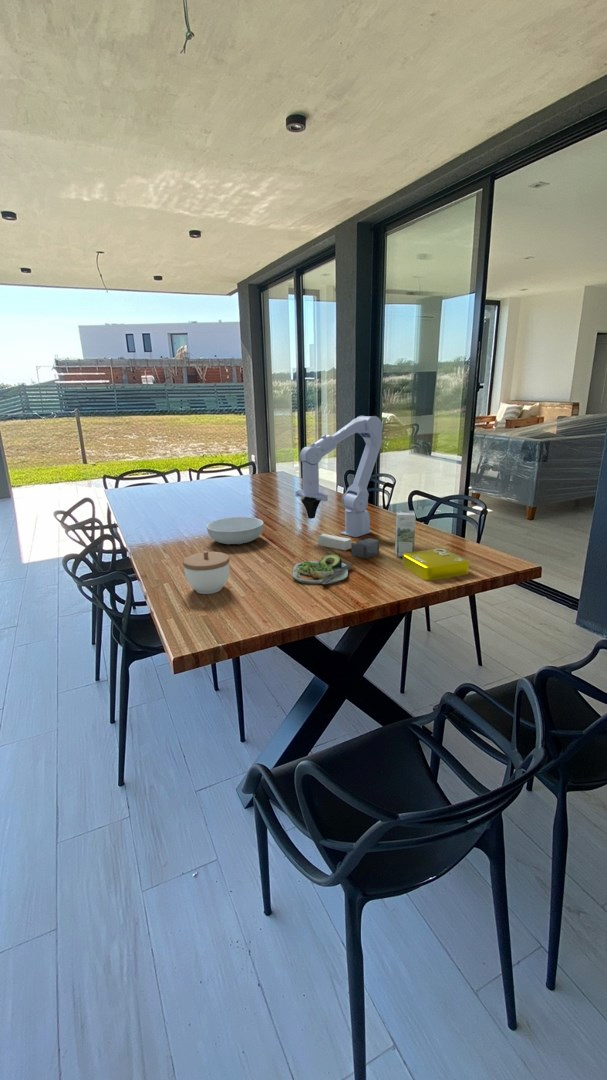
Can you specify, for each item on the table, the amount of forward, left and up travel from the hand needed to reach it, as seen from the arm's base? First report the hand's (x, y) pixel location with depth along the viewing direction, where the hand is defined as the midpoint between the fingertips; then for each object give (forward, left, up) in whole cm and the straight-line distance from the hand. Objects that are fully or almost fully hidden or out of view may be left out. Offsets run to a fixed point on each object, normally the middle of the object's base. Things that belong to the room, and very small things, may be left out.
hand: (311, 518), depth 179 cm
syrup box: (-8, +35, -9) cm, 37 cm away
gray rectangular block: (0, +11, -9) cm, 14 cm away
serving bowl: (+19, -21, -9) cm, 30 cm away
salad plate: (+23, +27, -9) cm, 37 cm away
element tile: (-2, +50, -9) cm, 51 cm away
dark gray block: (0, +25, -8) cm, 26 cm away
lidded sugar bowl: (+53, +12, -9) cm, 55 cm away
